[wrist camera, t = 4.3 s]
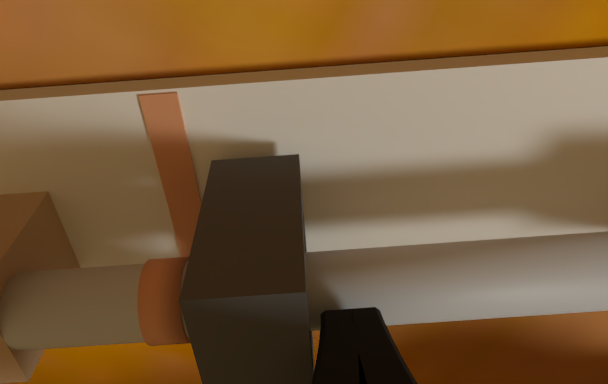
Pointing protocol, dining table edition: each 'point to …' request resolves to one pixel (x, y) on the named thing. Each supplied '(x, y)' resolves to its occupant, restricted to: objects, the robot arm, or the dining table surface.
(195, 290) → the grey square collar
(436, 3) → the dining table surface
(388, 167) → the pipe rig
